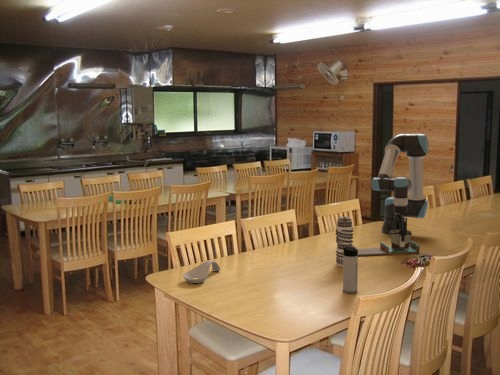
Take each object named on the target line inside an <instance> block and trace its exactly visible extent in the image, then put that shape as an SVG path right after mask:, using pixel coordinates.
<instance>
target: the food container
mask: <svg viewBox="0 0 500 375" xmlns="http://www.w3.org/2000/svg"><path fill="white" fill-rule="evenodd" d="M388 235H389V236H390V245H391V246H390V247H392V249H409V246H410V240H411V237H412V236H413V234H412V231H411V230H408V229H407V235H405V247H400V236H399V235H401V234H400V229H397V230H391V231H390V234H388Z"/></svg>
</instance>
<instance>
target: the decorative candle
mask: <svg viewBox="0 0 500 375" xmlns="http://www.w3.org/2000/svg"><path fill="white" fill-rule="evenodd" d="M353 221H354V220H353V219H352V218H351V217H350V216H347V215H346V216H339V217H338V219H336V223H337V224H336V229H335V242H336V251H335V253H336V254H335V256H336V257H335V259H336V260H335V262H336V263H335V264H336V266H338V267H342V268H343V247H352V245H353V244H354V240H353V239H354V232H355V230H354V227H353Z"/></svg>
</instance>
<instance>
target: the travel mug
mask: <svg viewBox="0 0 500 375" xmlns="http://www.w3.org/2000/svg"><path fill="white" fill-rule="evenodd" d="M356 248H357V247H356ZM356 248H352V247H343V267H342V292H343V293H344V294H348V293H349V294H348V295H354V294H357V293H358V281H359V280H358V277H359V274H358V270H359V268H358V264H359V256H358V250H357V249H358V248H357V249H356ZM353 293H354V294H353Z"/></svg>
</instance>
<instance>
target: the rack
mask: <svg viewBox="0 0 500 375" xmlns="http://www.w3.org/2000/svg"><path fill="white" fill-rule="evenodd" d="M379 244H380V245H379V246H380V247H366V248H357V247H356V246H354V244H352V248H356V249H357V250H358V257H373V256H374V257H377V256H378V257H379V256H396V255H397V256H398V255H419V254H420V247H421V246H420V245H419V244H418V243H416V242H415V241H413V240H411V239H410V245H409V249H392V246H389V245H387V244H385V242H383V241H379Z"/></svg>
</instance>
